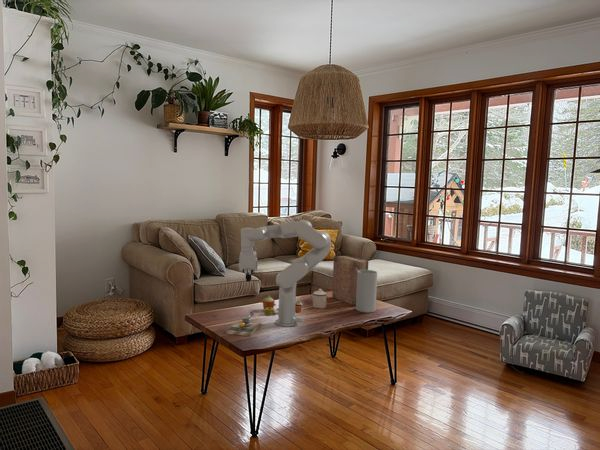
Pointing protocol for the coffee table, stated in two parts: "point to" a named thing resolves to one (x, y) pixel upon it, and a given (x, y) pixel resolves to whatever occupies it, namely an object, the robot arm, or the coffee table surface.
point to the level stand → (243, 329)
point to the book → (346, 277)
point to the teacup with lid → (319, 299)
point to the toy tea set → (270, 304)
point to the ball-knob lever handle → (246, 320)
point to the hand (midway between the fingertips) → (248, 281)
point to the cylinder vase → (366, 291)
